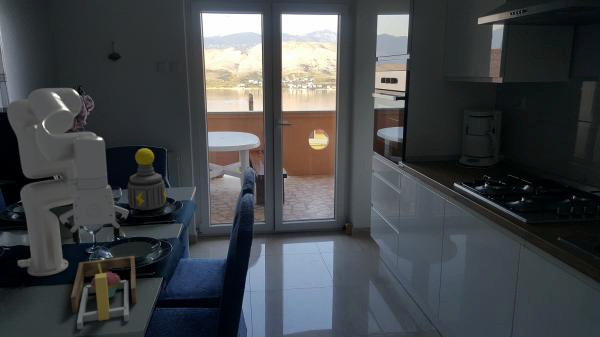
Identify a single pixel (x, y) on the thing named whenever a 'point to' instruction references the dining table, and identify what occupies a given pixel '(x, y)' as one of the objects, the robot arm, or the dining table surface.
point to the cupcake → (108, 282)
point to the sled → (102, 302)
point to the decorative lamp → (146, 184)
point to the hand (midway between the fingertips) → (97, 242)
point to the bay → (92, 269)
